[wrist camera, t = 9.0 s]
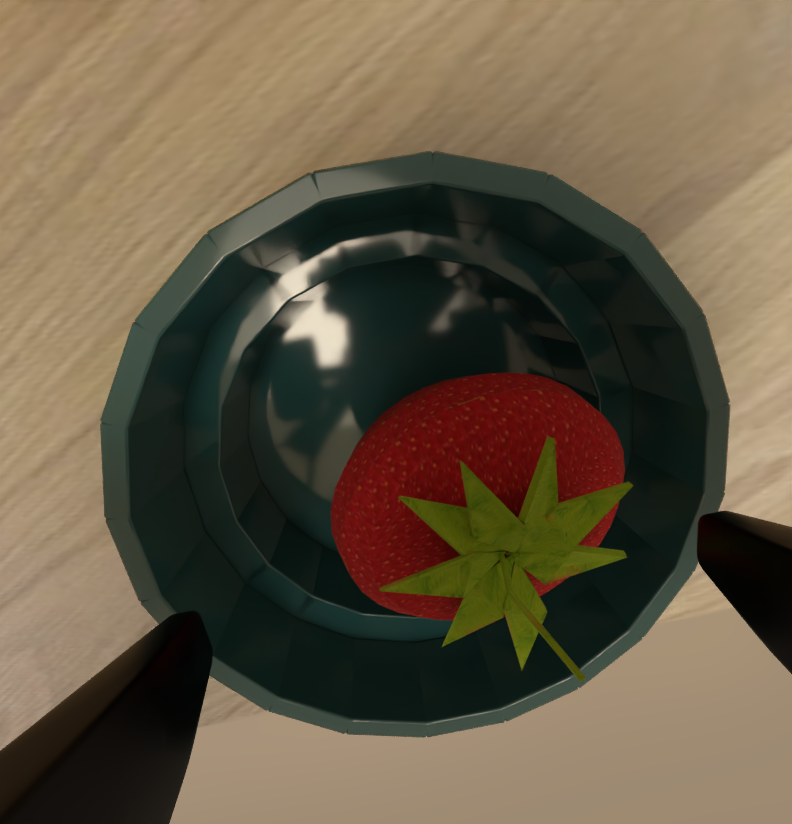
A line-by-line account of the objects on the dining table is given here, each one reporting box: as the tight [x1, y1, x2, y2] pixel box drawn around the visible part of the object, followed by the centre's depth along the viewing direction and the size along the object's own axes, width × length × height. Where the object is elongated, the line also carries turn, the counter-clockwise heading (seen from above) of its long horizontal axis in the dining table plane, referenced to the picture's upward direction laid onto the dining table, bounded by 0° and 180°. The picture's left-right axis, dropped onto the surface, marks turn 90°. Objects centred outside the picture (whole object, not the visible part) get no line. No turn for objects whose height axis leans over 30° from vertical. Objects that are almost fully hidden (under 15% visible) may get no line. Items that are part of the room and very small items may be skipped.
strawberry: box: [330, 373, 633, 682], centre depth 11 cm, size 6×8×10 cm
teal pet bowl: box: [100, 151, 730, 737], centre depth 13 cm, size 15×15×6 cm
